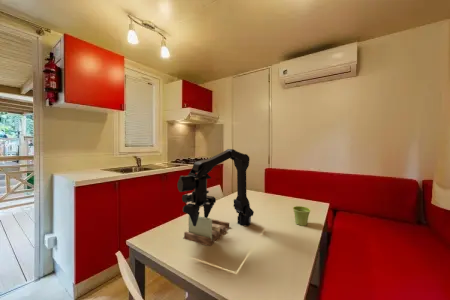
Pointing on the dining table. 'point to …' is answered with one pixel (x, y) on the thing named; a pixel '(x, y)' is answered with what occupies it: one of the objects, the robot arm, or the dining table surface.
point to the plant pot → (301, 215)
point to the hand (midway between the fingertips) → (200, 222)
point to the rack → (205, 240)
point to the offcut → (216, 228)
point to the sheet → (201, 227)
